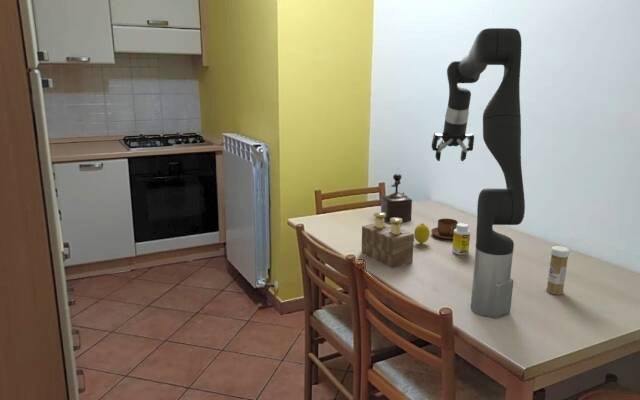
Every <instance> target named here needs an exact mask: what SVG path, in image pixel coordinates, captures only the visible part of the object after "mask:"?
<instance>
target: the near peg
mask: <svg viewBox="0 0 640 400" xmlns="http://www.w3.org/2000/svg"><path fill="white" fill-rule="evenodd" d="M389 223H391V224H390V225H391V234H393V235H399V234H400V229H401V223H403V222H402V219H401V218H390V222H389Z"/></svg>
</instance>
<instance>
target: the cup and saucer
mask: <svg viewBox="0 0 640 400" xmlns="http://www.w3.org/2000/svg"><path fill="white" fill-rule="evenodd" d="M457 224H459V222H458V221H457V220H456V219H452V218H440V219H438V221H437V227H435V228H432V229H431V231H430V232H431V234H432V235H433V236H435V237H437V238H440V239H444V240H445V239H446V240H453V235H454V230H455V229H456V227H457Z"/></svg>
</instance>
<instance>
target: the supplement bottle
mask: <svg viewBox="0 0 640 400" xmlns="http://www.w3.org/2000/svg"><path fill="white" fill-rule="evenodd" d="M470 241H471V231H470V230H469V224H467V223H465V222H464V223H461V222H460V223H459V222H458V224H457V227H456V229H455V230H454V235H453V239H452V252H453V253H454V254H456V255H461V256H462V255H463V256H464V255H468V254H469V250H470Z"/></svg>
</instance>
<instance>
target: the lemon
mask: <svg viewBox="0 0 640 400" xmlns="http://www.w3.org/2000/svg"><path fill="white" fill-rule="evenodd" d="M430 232H431V231H430V229H429V227H428V226H427V225H426V224H425V223H421V224H418V225H416V227H415V229H414V231H413V234H414V240H415V241H416V242H418V243H419V244H420V245H423V244H424V243H426V242H427V241H428V240H429V238H430V235H431V233H430Z"/></svg>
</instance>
